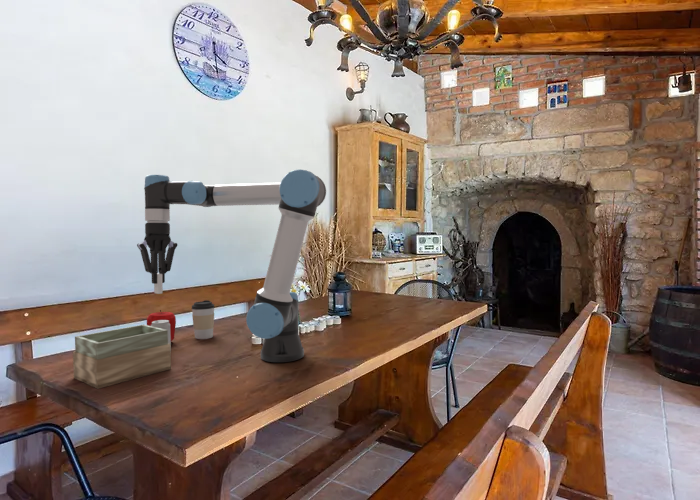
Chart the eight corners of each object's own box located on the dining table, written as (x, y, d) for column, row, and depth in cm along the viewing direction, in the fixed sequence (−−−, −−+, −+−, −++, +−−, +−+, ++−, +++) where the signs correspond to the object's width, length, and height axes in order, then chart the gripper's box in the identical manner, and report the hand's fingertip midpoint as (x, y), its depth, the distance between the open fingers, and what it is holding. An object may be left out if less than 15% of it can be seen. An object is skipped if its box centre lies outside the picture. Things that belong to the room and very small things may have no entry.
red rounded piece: (158, 349, 166) (156, 313, 166) (141, 346, 172) (140, 310, 171) (182, 343, 175) (181, 308, 175) (165, 340, 181) (164, 306, 180)
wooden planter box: (171, 369, 142) (169, 329, 141) (97, 388, 125) (95, 344, 124) (145, 360, 152) (144, 324, 151) (73, 377, 134) (72, 336, 134)
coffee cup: (208, 341, 178) (207, 303, 178) (187, 340, 180) (186, 303, 179) (219, 335, 187) (218, 300, 186) (199, 335, 189) (198, 299, 188)
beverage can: (155, 352, 162) (154, 319, 161) (173, 352, 162) (172, 319, 162) (148, 357, 155) (147, 323, 155) (167, 356, 156) (166, 322, 155)
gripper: (170, 222, 156) (171, 290, 157) (132, 221, 146) (133, 294, 147) (181, 222, 151) (182, 292, 152) (143, 221, 141) (144, 296, 142)
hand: (158, 293), depth 149 cm, fingers closed
